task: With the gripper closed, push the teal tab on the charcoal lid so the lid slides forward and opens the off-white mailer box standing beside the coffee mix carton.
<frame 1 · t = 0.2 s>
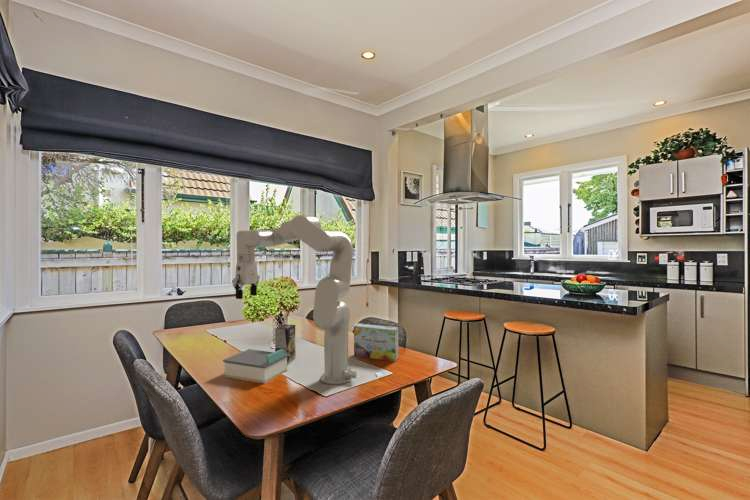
hand: (246, 296, 168), 31 cm above the table, tool pointing down, fingers open, 9 cm apart
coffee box: (285, 361, 175), on the table
lid: (256, 354, 158), point 8 cm above the table, slide at 0.0 cm
snack box: (376, 357, 180), on the table
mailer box: (256, 373, 159), on the table
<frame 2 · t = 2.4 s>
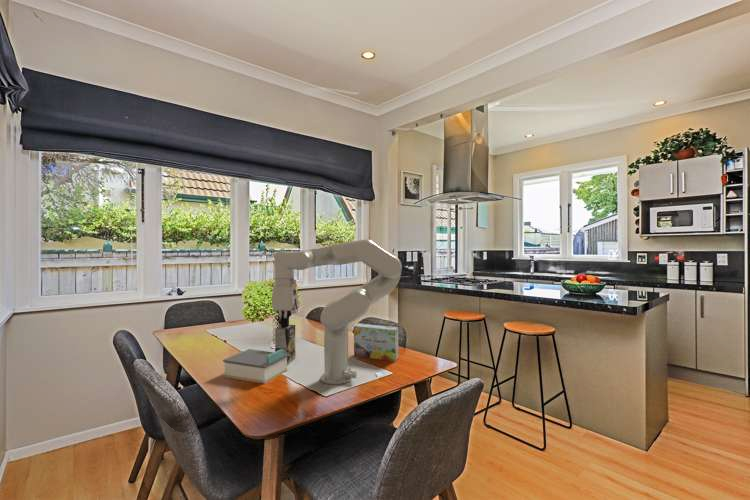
hand: (284, 327, 153), 21 cm above the table, tool pointing down, fingers closed
nothing on the table moved.
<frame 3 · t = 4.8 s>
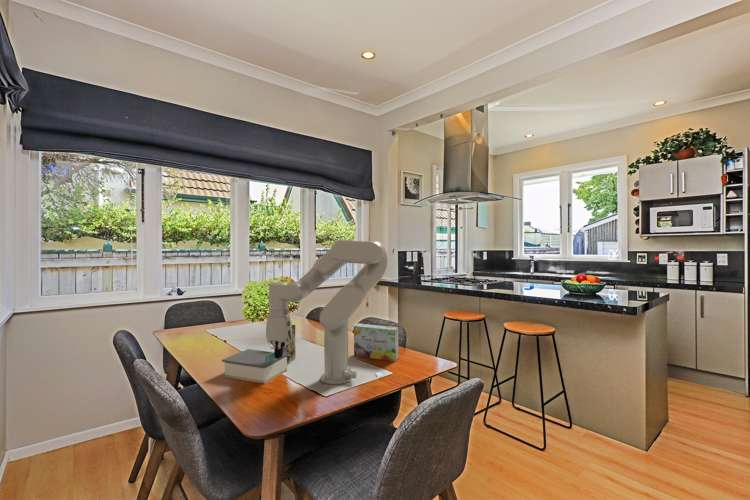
hand: (278, 357, 154), 8 cm above the table, tool pointing down, fingers closed
lid: (255, 354, 159), point 8 cm above the table, slide at 0.6 cm, touching gripper
everything else where it was.
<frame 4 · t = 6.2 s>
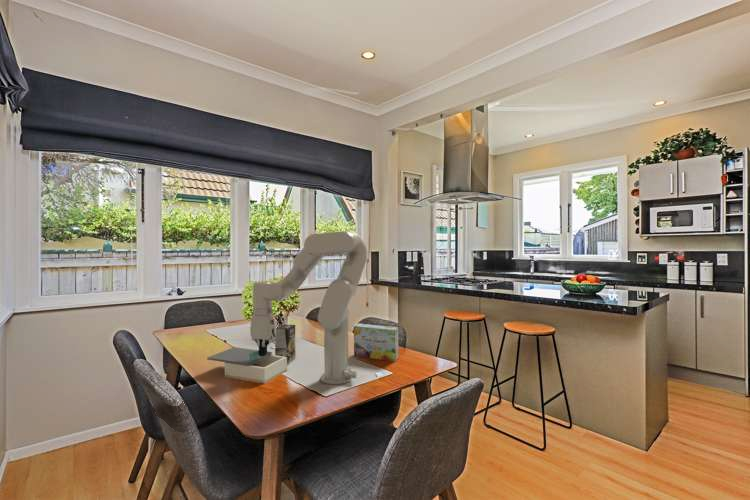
hand: (263, 355, 157), 8 cm above the table, tool pointing down, fingers closed
lid: (240, 352, 162), point 8 cm above the table, slide at 8.4 cm, touching gripper
everything else where it was.
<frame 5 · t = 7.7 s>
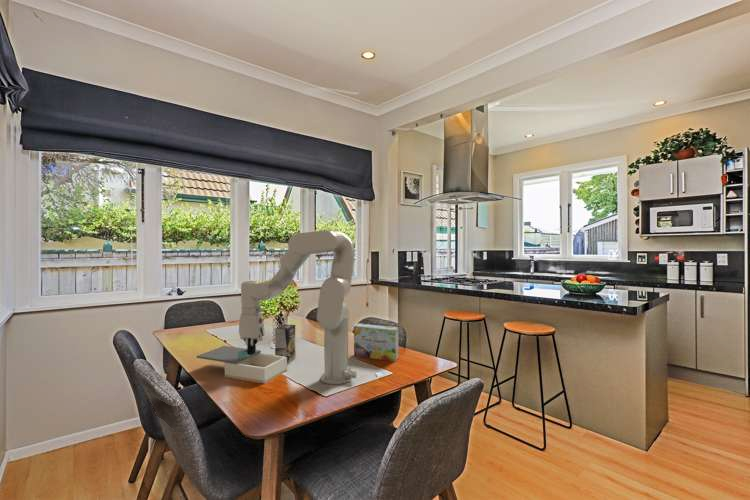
hand: (251, 353, 159), 8 cm above the table, tool pointing down, fingers closed
lid: (229, 350, 164), point 8 cm above the table, slide at 14.4 cm, touching gripper
everything else where it was.
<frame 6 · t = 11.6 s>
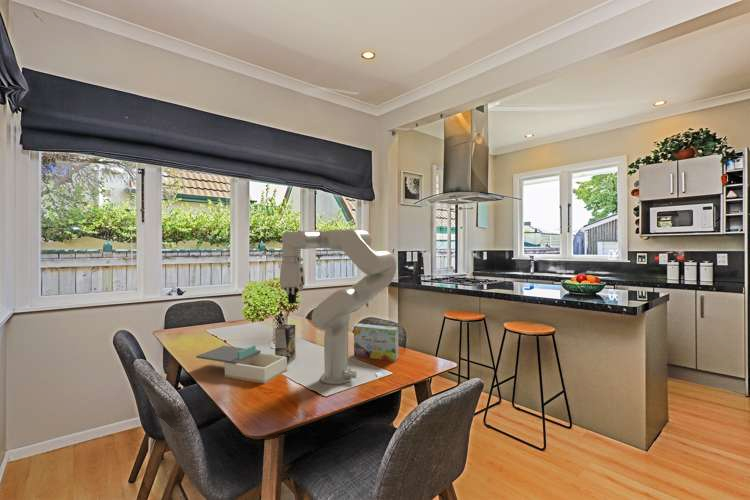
hand: (292, 303, 162), 29 cm above the table, tool pointing down, fingers closed
lid: (229, 350, 164), point 8 cm above the table, slide at 14.5 cm
everything else where it was.
at the end: lid slide at 14.5 cm; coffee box moved 0.2 cm from its start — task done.
